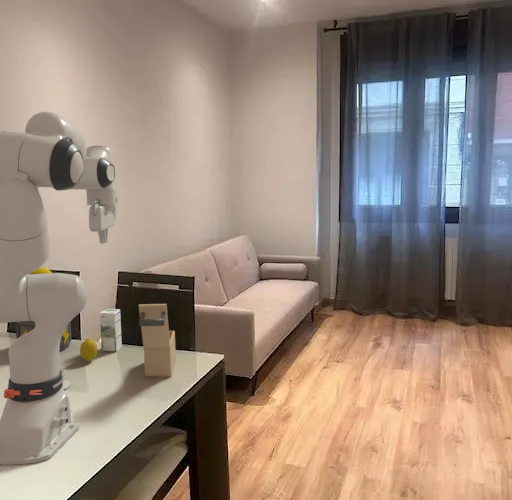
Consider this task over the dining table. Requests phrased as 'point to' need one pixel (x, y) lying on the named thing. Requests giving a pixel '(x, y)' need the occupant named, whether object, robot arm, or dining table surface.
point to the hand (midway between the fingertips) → (103, 243)
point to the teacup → (65, 383)
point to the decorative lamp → (27, 326)
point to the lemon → (88, 350)
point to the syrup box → (110, 330)
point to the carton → (160, 359)
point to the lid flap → (154, 325)
